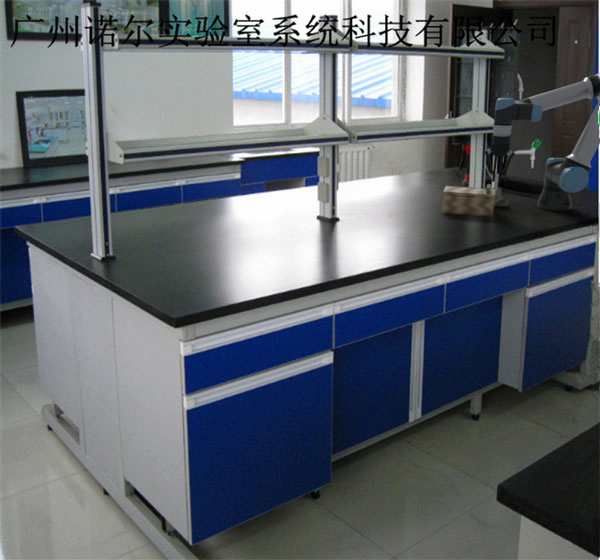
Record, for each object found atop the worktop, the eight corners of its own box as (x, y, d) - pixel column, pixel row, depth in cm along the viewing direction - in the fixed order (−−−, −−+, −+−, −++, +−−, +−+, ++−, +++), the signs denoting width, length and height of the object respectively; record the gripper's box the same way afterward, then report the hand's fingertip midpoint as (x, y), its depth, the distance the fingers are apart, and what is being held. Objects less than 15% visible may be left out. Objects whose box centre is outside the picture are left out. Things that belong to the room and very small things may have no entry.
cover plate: (495, 192, 321) (496, 184, 319) (494, 197, 310) (495, 189, 308) (445, 188, 326) (446, 180, 325) (443, 194, 315) (443, 185, 314)
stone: (500, 182, 333) (488, 184, 327) (513, 199, 330) (501, 201, 323) (487, 196, 340) (475, 198, 333) (500, 212, 336) (487, 214, 330)
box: (493, 210, 324) (495, 189, 321) (492, 216, 311) (494, 195, 308) (444, 206, 330) (445, 185, 327) (441, 212, 317) (443, 191, 314)
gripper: (517, 134, 309) (510, 188, 316) (486, 133, 312) (480, 186, 319) (517, 136, 302) (510, 192, 309) (485, 135, 305) (479, 189, 312)
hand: (495, 189), depth 314 cm, fingers closed
